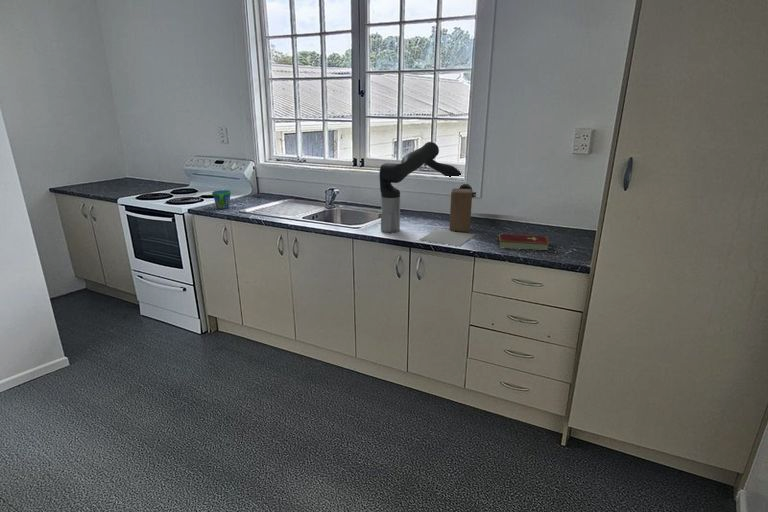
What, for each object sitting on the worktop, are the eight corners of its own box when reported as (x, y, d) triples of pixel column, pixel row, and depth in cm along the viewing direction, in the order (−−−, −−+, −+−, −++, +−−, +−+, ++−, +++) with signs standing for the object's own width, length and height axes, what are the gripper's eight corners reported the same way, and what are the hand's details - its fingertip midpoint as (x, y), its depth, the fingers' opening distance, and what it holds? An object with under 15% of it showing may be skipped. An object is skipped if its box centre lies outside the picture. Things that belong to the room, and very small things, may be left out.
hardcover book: (498, 241, 211) (498, 232, 210) (545, 244, 207) (546, 235, 205) (498, 249, 200) (499, 240, 199) (548, 252, 196) (549, 243, 194)
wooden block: (469, 232, 224) (472, 192, 217) (449, 231, 225) (451, 191, 219) (470, 227, 233) (472, 188, 226) (450, 226, 235) (452, 188, 228)
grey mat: (459, 246, 202) (459, 246, 202) (418, 240, 211) (418, 239, 211) (474, 235, 219) (474, 234, 219) (436, 230, 228) (436, 229, 228)
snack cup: (230, 210, 270) (228, 193, 267) (212, 211, 268) (209, 194, 265) (234, 205, 284) (232, 189, 281) (216, 205, 283) (214, 189, 279)
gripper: (453, 183, 248) (450, 189, 232) (478, 184, 244) (476, 190, 229) (452, 197, 250) (449, 203, 234) (477, 198, 247) (475, 205, 231)
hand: (462, 197), depth 231 cm, fingers closed
